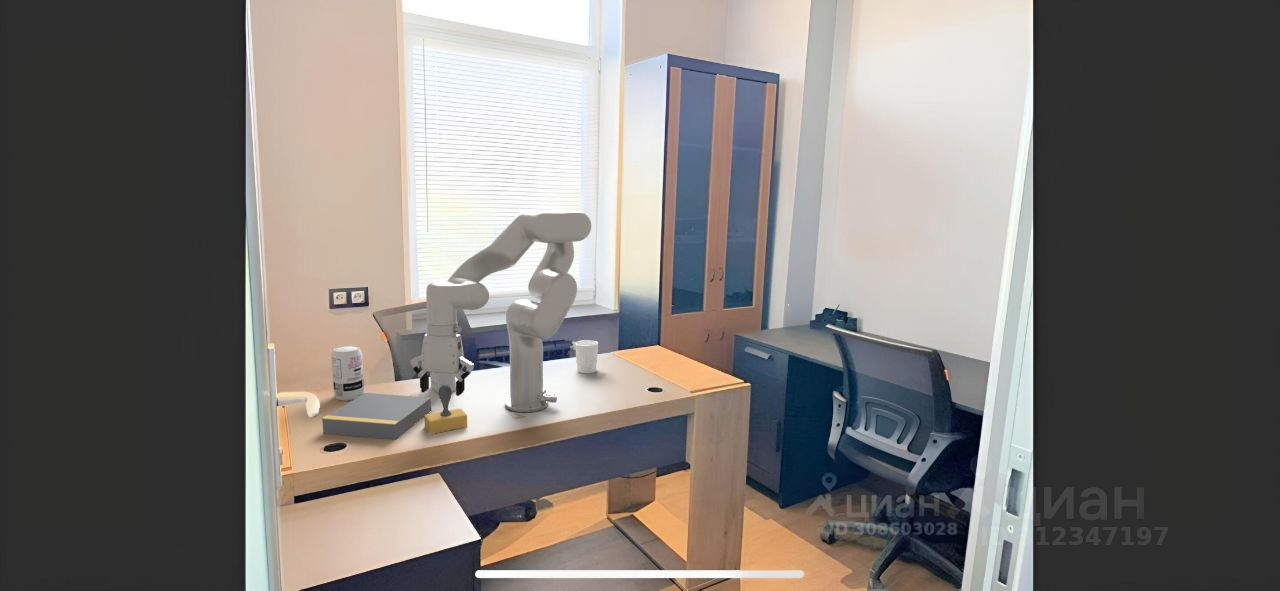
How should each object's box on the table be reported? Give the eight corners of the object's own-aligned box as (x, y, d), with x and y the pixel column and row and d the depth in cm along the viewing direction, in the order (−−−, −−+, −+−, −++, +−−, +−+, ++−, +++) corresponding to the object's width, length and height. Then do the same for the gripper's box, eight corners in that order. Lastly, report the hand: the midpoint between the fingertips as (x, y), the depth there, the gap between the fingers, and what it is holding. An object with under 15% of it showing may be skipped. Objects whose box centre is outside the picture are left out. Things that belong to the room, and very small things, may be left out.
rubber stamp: (461, 420, 175) (459, 379, 173) (467, 427, 171) (466, 385, 168) (424, 427, 170) (422, 384, 168) (430, 435, 165) (428, 391, 163)
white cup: (596, 374, 218) (597, 346, 216) (574, 373, 218) (574, 345, 216) (598, 367, 225) (599, 340, 223) (576, 366, 225) (576, 339, 223)
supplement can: (340, 392, 195) (337, 344, 192) (368, 392, 195) (365, 345, 192) (330, 401, 187) (326, 352, 184) (359, 401, 187) (355, 352, 184)
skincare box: (456, 391, 198) (454, 345, 195) (436, 394, 194) (435, 348, 192) (448, 383, 205) (446, 339, 202) (429, 386, 201) (427, 341, 198)
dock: (431, 411, 181) (431, 397, 180) (395, 439, 162) (394, 424, 161) (366, 405, 184) (365, 392, 183) (323, 433, 164) (322, 418, 164)
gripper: (479, 329, 168) (478, 391, 171) (417, 324, 170) (418, 385, 173) (467, 335, 160) (467, 400, 163) (403, 330, 162) (404, 394, 165)
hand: (442, 392), depth 168 cm, fingers open, 9 cm apart
